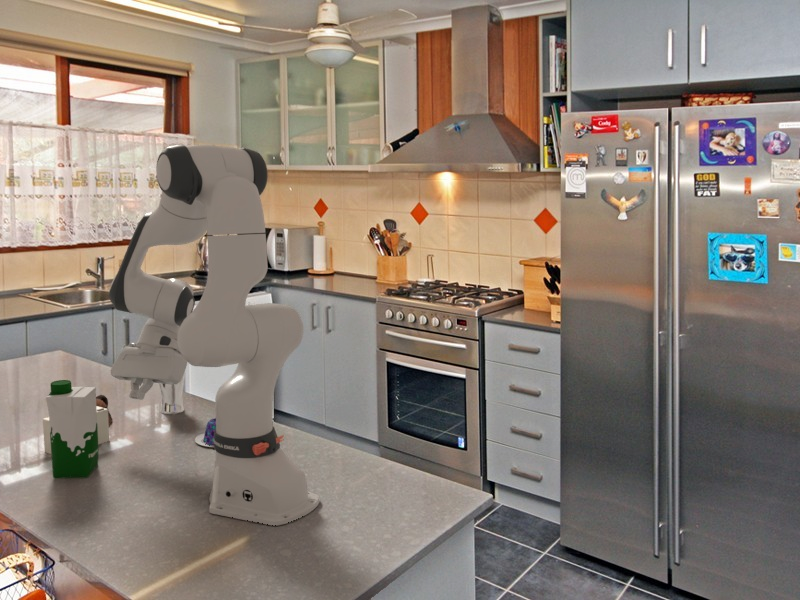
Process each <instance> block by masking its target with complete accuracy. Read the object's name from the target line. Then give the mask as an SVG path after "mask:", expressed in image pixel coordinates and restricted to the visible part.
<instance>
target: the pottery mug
mask: <svg viewBox="0 0 800 600" xmlns="http://www.w3.org/2000/svg"><path fill="white" fill-rule="evenodd" d="M96 406H98V407H102V408H106V409H108V422H109V425H110V424H111V423H112V421H113V417H112V414H111V413H110V411H109V399H108V398H107V397H106V396H105V395H103V394H99V395H96Z"/></svg>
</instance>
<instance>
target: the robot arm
mask: <svg viewBox="0 0 800 600" xmlns="http://www.w3.org/2000/svg"><path fill="white" fill-rule="evenodd" d="M267 166H268V165H267V164H266V162H265V160H264V157H263V156H262V154H260V153H259V152H258V151H255V150H253V149H249V148H245V147H241V148H235V147H231V146H230V147H229V146H223V145H215V144H194V145H193V144H192V145H185V144H176V145H171V146H168V147H165V148H164V149H162V150H161V152H160V154H159V155H158V157H157V161H156V180H157V185H158V187H159V188H160V190H161V195H160V199H159V204H158V206H157V208H156V209H155V210H154V211H152V212H147V213H146V214H144V215H143V216H142V218H141V219H140V221H139V222H138V223H137V226H136V228H135V230H134V232H133V235H132V236H131V238H130V241H129V243H128V245H127V249H126V251H125V254H124V256H123V258H122V261H121V264H120V266H119V269H118V271H117V274H116V275H115V276H114V278H113V280H112V281H111V283H110V285H109V288H108V289H109V290H108V299H109V301H110V303H111V304H112V305H113V307H114V308H115V310H117V311H119V312H120V311H121V312H126V313H130V314H136V315H139V316H143V317H146V318H148V319H147V320H146V322H145V323H144V324H143V327H142V329H141V331H140V334H139V337H138V338H137V341H136V342H129V343H128V344H127V345H125V346H124V347H123V348H122V349H121V350H120V352H119V353H118V355H117V356H116V358H115V360H114V362H113V364H112V365H111V369H110V375H111V377H113V378H115V379H117V380H119V381H128V382H130V392H129V398H130V399H132V400H140V401H141V400H142V401H143V400H144V399H145V397H146V394H147V393H148V392H149V391H150V390H151V389H152V388H153V386H154V384H159V383H163V384H178V383H179V382H180V381H181V379H182V377H183V375H184V372H186V369H187V365H188V364H189V365H190V366H193V367H202V368H221V367H225V366H230V365H237V367H236V369H235V370H234V372H233V374H232V375H231V376H230V377H229V378H228V379H227V380H226V381H225V382H223V383H222V384H221V385H220V387H219V388H218V389H217V392H216V394H215V403H214V404H215V418H216V429H215V431H214V445H213V446H214V447H213V448H214V450H215V462H214V470H213V479H212V485H211V490H210V494H209V498H208V500H209V503H210V504H209V511H208V512H209V513H210V514H213V515H216V516H217V515H218V516H222V517H228V518H232V517H233V518H232V519H236V520H237V519H238V520H242V521H247V520H248V521H247V522H252V521H253V523H257V522H259V523H258V524H262V523H263V525H267V524H268V526H272V525H273V526H275V525H276V526H282V525H286V524H289V523H292V522H294V521H293V520H295V521H297V520H299V519H301V518H302V516H303V517H304V516H307V515H308V514H310V513H312V511H315V509H316V508H317V507H318V506H319V504H320V500H321V499H320V496H319V495H318V494H316V493H314V492H311V491H309V490H308V482H307V481H308V480H307V477H306V474H305V472H304V471H303V470H302V469H301V468H300V467H299V465H298V464H297V463H295V462H294V461H293V460H292V459H291V458H290V457H289V456H288V455H287V453H286V452H285V451H284V450H283V449H281V444H280V442H283V441H285V439H283V438H284V436H285V435H279V436H278V434H277V431H276V429H275V427H274V426H273V423H274V422H273V421H274V417H273V416H274V412H273V411H274V393H275V387H276V385H277V381H278V378H279V375H280V373H281V371H282V369H283V367H284V364H285V363H286V361H287V360H288V358H289V357H290V356H291V354H293V352H294V351H296V350H297V348H298V347H299V346H300V344H301V342H302V340H303V337H304V323H303V319H302V317H301V315H300V313H299V312H298V311H297V309H295V308H294V307H293V306H291V305H289V304H283V303H282V304H281V303H273V302H266V303H258V304H248V305H247V304H246V303H247V298H248V296H249V293H250V291H251V290H252V289H253V287H254V286H256V285H258V284H259V283H261V282H262V281H263V279H264V278H265V277H266V274H267V272H268V266H269V265H268V255H267V254H268V253H267V252H268V251H267V236H266V235H267V234H266V221H265V217H264V210H263V205H262V200H261V195H263V193H264V192H265V191H264V190H265V189H266V187H267V185H268V184H267V183H268V177H269V174H268V167H267ZM205 234H206V237H207V239H206V240H207V263H208V264H207V268H208V270H207V279H206V284H205V287H204V291H203V293H202V295H201V298H200V300H199V301H198V303H197V305H196V299H195V297H194V289H193V287H192V286H191V284H189V283H188V282H186V281H184V280H182V279H178V278H168V279H165V278H162V277H159V276H155V275H152V274H149V273H147V272H144V270H142V269H141V268H142V265H143V263H144V260H145V258H146V257H147V253H148V250H149V249H150V248H151V247H157V246H166V245H167V246H181V245H188V244H190V243H193V242H195V241H197V240H199V239H200V238H202V237H203V236H205ZM195 305H196V306H195ZM298 518H299V519H298ZM296 519H297V520H296ZM291 521H292V522H291ZM288 522H289V523H288ZM276 526H275V527H276Z"/></svg>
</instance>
